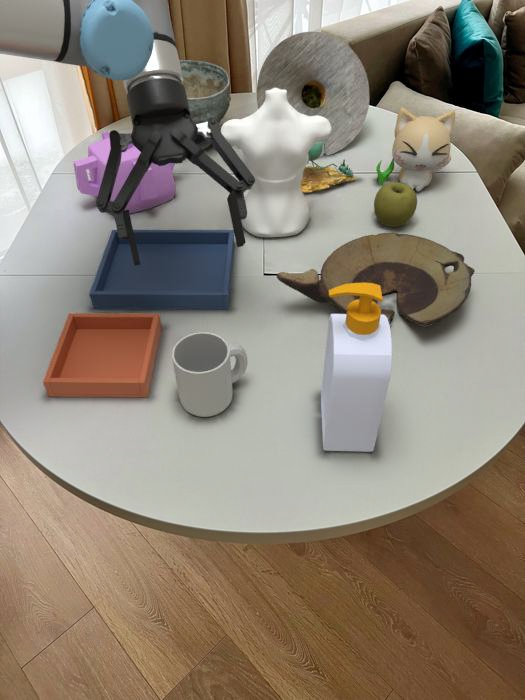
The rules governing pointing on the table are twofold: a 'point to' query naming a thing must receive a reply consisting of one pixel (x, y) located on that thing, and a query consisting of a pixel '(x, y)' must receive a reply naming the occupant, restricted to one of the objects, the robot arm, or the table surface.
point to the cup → (206, 372)
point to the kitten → (419, 147)
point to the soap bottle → (355, 371)
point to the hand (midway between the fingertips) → (190, 254)
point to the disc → (319, 83)
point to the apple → (395, 204)
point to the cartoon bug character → (323, 172)
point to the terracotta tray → (104, 356)
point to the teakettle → (125, 176)
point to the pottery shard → (392, 276)
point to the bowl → (205, 93)
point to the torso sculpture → (276, 163)
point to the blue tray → (166, 271)
